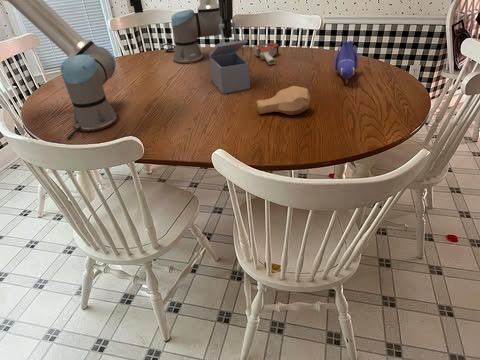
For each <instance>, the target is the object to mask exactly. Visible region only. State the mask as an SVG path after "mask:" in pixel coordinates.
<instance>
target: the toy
mask: <svg viewBox="0 0 480 360" xmlns="http://www.w3.org/2000/svg"><path fill="white" fill-rule="evenodd" d="M353 44H354V41H353V40H349V41H347V40H344V41H342V45H339V46H338V48H337V50H336V53H335V56H334V70H335V71H336V72H337V73H338V74H339V75H340V76H341V77H342V79H344V82H345V85H348V82H349V80H350V79H351V78H352V77H353V76H354V75H355V74H356V70H357V69H358V66H359V53H358V49H357V46H356V45H353Z"/></svg>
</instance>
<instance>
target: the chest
mask: <svg viewBox="0 0 480 360" xmlns="http://www.w3.org/2000/svg"><path fill="white" fill-rule="evenodd" d="M209 66H210V76H211V81H212V83H213V84H214V85H215V87H216V88H217V89H218V90H219V91H220V93H221V94H222V95H225V94H229V93H230V94H231V93H235V92H240V91H245V90H250V89H251V77H250V76H251V75H250V63H249V62H248V61H247V60H245V59H244V58H243V57H242V56H241V55H239V54H238V52H236V53H230V54H224V55H217V56H211V57H209Z"/></svg>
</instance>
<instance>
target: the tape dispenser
mask: <svg viewBox="0 0 480 360" xmlns="http://www.w3.org/2000/svg"><path fill="white" fill-rule="evenodd" d="M266 46H267V47H266ZM279 48H280V47H279V44H278V43H277V42H270V43H269V42H268V43H263V44H259V45H253V46H252V50H253V54H254V55H255V56H256V57H259V58H260V61H266V62H267V64H268V66H271V65H275V63H276V59H275V58H274V56H278V55H279Z"/></svg>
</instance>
